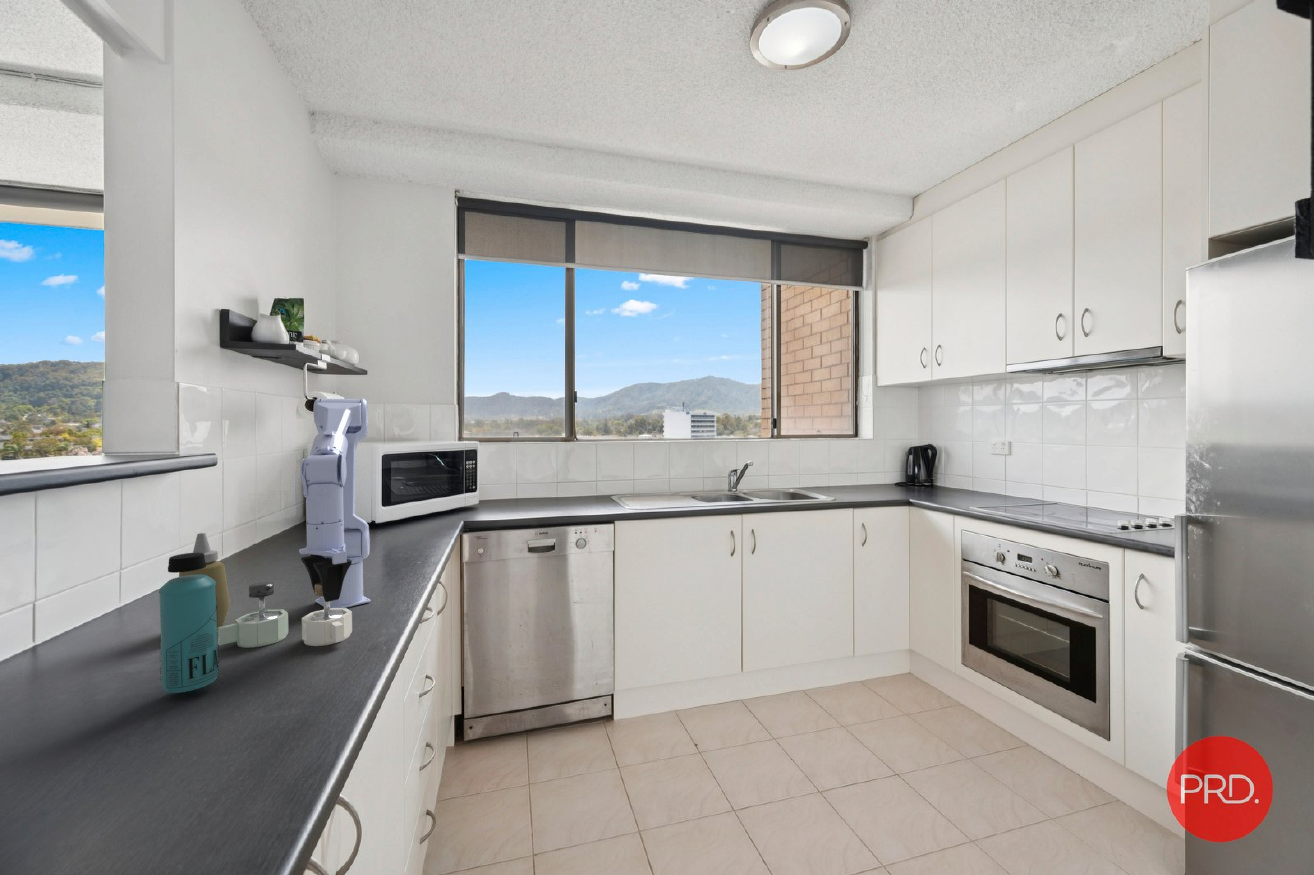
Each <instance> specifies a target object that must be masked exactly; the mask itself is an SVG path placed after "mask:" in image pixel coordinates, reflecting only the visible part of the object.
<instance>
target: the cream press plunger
mask: <svg viewBox="0 0 1314 875" xmlns="http://www.w3.org/2000/svg"><path fill="white" fill-rule="evenodd" d="M314 595H315V597H321V596H323V592H322V586H321V582H319V583H316V584H315V593H314ZM323 610H324V613H320V614H317V615H314V616H313V617H311V621H322V620H329V619H333V618H337V617H341V616H342V615H343V612H340V611H331V612H330V601H329V602H326V601H325V600H324V607H323Z"/></svg>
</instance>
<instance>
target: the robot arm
mask: <svg viewBox="0 0 1314 875" xmlns="http://www.w3.org/2000/svg"><path fill="white" fill-rule="evenodd" d="M313 420H314V425H315V427H316V430H317V433H318V434H317V435H316V436H315V438H314V439H313V442H312V445H311V449H310V453H309V455H308V456H307V458H305V457H304V458H303V459H302V460H301V466H300V477H301V483H302V488H303V489H302V490H303V492H302V494H303V497H304V498H306V499H305V516H306V519H305V520H306V523H305V525H306V546H305V547H304V548H299V549H298V552H299V554H300V555H306V556H302V557H301V558H300V560H301V562H302V563H303V565H304V566H305V569H306V571H307V573H308V576H309V580H310V583H311V587H312V590H313V593H314V594H315V584H316V583H319V582H321V586H322V592H323V596H320V598H317V599H315V602H316V603H317V604H319V605H320V606H321V607H323V608H324V600H325V601H326V602H329V601H330V608H350V607H354V606H358V605H362V604H366V603H370V602H372V601H371V599H370V598H368V597H366V596H364V576H363V575H364V573H363V572H364V569H363V568H364V566H363V565H364V564H363V561H364V559H367V558H368V556H369V555H370V551H371V550H370V549H371V547H370V546H371V545H370V544H371V542H370V541H371V539H370V538H371V537H370V526H369V524H368V522H367V521H366V520H364V519H363V518H361V517H359V516H358V515H356V462H357V460H356V457H357V456H356V455H357V454H356V453H357V448H358V444H359V441H361V440H363V439H365V438H367V434H368V432H369V405H368V401H367V400H366V399H365V398H364V397H363V398H322V397H317V398H316V399H315V400H314V403H313ZM307 554H308V555H307Z"/></svg>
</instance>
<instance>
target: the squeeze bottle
mask: <svg viewBox="0 0 1314 875" xmlns="http://www.w3.org/2000/svg"><path fill="white" fill-rule="evenodd" d="M192 553H204V556H205V562H206V567H205V568H202V569H199V570H194V571H188V572H178V577H181V576H187V575H207V576H209V577H210V578H212V579H213V580H215V582H216V585H215V593H216V613H217V609H218V613H217V614H216V616H217V622H218V623H217V625H218V626H217V629H218V627H221V626H224V624H225V621H226V618H227V615H228V614H229V610H230V606H231V599H230V594H229V586H228V580H227V573H226V568H225V567H226V566H225V563H223V562H221V561H219V560H218V559H219V552H218V551H217V550H213V549H212V550H211V546H210V544H209V540H208V538H207V534H206V533H205V532H199V533H197V534H196V538H195V542H194V547H193V551H192ZM217 606H218V608H217Z"/></svg>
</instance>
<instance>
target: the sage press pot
mask: <svg viewBox="0 0 1314 875" xmlns="http://www.w3.org/2000/svg"><path fill="white" fill-rule="evenodd" d="M265 613H278V614H279V616H278V617H276V618H273V619H269V620H264V621H260V622H245V619H246V618H248V617H250V616H253V615H257V614H259V610H258V611H253V612H250V613H246V614H244V615H242V616H239V617H238V618H236V619H234V620H235V623H232V624H228V625H227V624H226V625H222V626H221V627H218V628H217V632H218V633H217V635H218V636H219V637H218V636H217V638H218V639H217V640H218V641H217V645H219V646H223V645H225V644H230V643H236V644H237V647H239V648H246V649H247V648H248V649H249V648H250V649H251V648H259V647H264V646H265V647H266V646H269V645H273V644H275V643H279V642H280V641H282V640H284V639H286V638H287V637H288V636H287V635H288V634H289V613H288V611H287V610H285V609H284V608H283V609H265Z"/></svg>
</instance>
